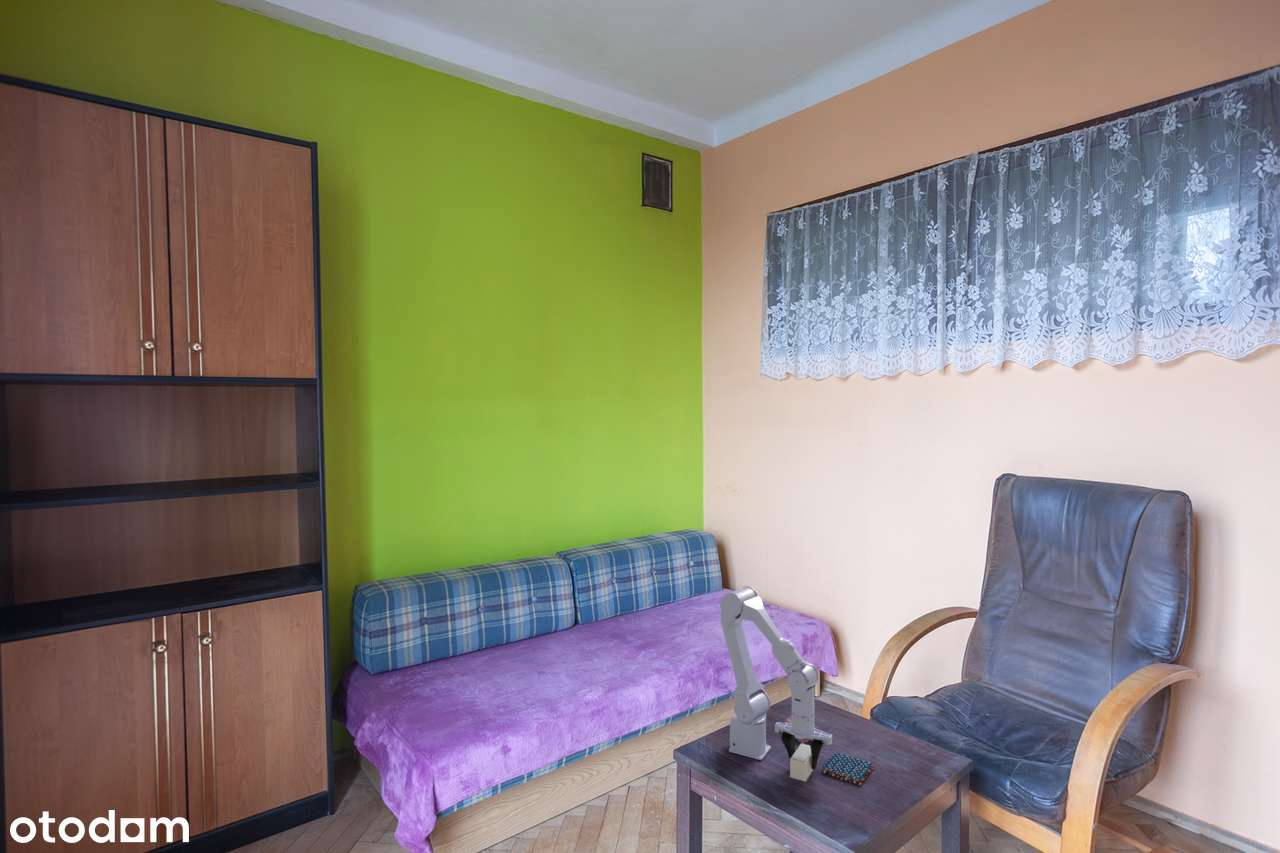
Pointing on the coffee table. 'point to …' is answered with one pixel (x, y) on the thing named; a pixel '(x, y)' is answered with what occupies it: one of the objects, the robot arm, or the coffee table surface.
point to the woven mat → (848, 768)
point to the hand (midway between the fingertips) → (803, 764)
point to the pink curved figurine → (797, 738)
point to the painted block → (801, 763)
